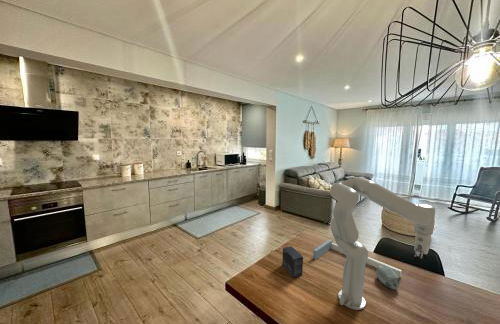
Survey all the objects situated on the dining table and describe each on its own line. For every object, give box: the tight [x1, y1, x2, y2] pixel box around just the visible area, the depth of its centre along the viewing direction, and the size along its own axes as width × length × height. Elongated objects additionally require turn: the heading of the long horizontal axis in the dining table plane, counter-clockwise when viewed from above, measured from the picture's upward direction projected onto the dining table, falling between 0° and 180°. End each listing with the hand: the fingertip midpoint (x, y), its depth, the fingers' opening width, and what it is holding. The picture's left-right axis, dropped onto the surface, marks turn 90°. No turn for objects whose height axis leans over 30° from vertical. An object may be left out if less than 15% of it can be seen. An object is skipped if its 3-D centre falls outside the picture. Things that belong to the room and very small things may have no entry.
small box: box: [281, 245, 304, 278], centre depth 131 cm, size 13×7×12 cm, turn 22°
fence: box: [312, 238, 403, 278], centre depth 135 cm, size 23×45×6 cm, turn 42°
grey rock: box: [375, 265, 400, 290], centre depth 120 cm, size 14×10×10 cm
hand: (419, 260), depth 108 cm, fingers open, 9 cm apart
